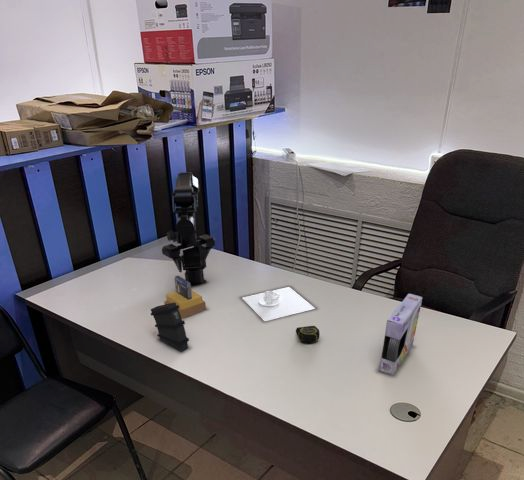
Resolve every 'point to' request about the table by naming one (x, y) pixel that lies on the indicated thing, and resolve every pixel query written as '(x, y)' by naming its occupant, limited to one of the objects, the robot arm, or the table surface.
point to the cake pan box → (400, 333)
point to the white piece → (277, 303)
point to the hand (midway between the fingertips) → (191, 268)
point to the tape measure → (308, 334)
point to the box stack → (187, 303)
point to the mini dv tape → (183, 287)
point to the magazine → (170, 326)
